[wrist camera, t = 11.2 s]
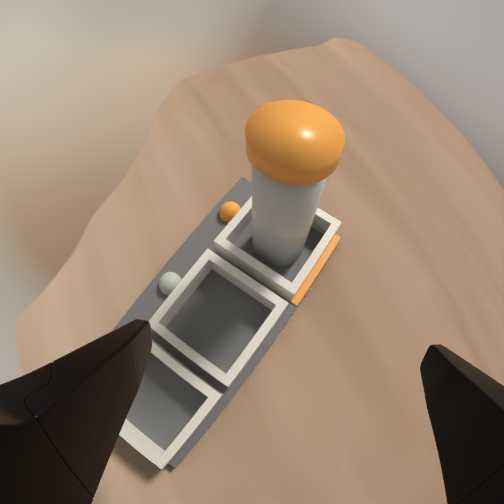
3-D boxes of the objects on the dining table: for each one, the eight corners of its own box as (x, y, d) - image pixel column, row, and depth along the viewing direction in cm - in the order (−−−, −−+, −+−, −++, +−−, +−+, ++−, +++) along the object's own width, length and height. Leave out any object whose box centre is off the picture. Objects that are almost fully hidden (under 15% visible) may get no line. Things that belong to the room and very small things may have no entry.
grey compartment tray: (177, 465, 18) (168, 475, 16) (80, 380, 20) (62, 379, 18) (339, 241, 25) (348, 225, 23) (242, 182, 28) (241, 162, 25)
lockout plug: (300, 277, 23) (340, 179, 12) (241, 262, 24) (232, 155, 13) (311, 225, 25) (347, 112, 14) (256, 212, 25) (259, 93, 14)
